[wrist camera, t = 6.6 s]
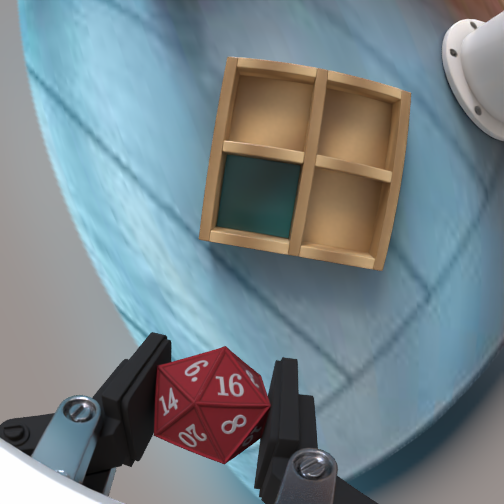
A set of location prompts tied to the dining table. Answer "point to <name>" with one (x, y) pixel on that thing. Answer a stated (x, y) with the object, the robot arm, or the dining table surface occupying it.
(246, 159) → the wooden compartment tray
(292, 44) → the dining table surface
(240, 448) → the dice
